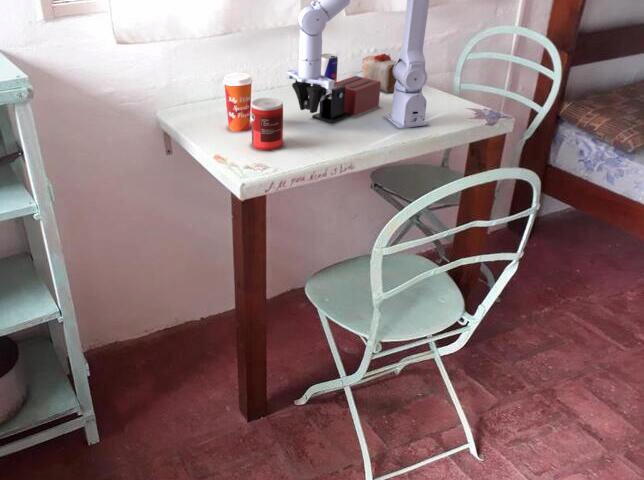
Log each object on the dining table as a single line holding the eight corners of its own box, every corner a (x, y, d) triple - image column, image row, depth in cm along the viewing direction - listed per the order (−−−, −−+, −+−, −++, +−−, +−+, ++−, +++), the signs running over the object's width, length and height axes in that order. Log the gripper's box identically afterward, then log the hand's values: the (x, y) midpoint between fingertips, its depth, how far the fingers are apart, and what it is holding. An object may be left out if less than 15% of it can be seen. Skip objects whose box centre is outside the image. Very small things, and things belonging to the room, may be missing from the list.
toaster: (354, 118, 182) (355, 90, 178) (328, 110, 188) (329, 83, 184) (379, 108, 188) (381, 81, 184) (353, 101, 194) (355, 74, 190)
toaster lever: (309, 112, 173) (309, 101, 172) (300, 109, 175) (300, 98, 173) (340, 97, 180) (340, 87, 178) (331, 95, 182) (331, 84, 180)
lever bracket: (331, 124, 178) (333, 92, 174) (312, 118, 183) (313, 87, 178) (350, 117, 183) (352, 85, 178) (331, 111, 187) (332, 80, 182)
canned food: (264, 137, 172) (263, 95, 166) (289, 143, 168) (289, 101, 162) (245, 146, 167) (244, 103, 161) (271, 153, 163) (270, 109, 157)
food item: (356, 83, 208) (358, 51, 203) (376, 79, 211) (379, 47, 206) (385, 94, 198) (388, 61, 193) (405, 89, 201) (409, 56, 196)
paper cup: (229, 135, 175) (227, 81, 167) (221, 125, 181) (219, 73, 173) (257, 131, 176) (256, 78, 169) (249, 121, 182) (248, 70, 175)
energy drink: (336, 99, 196) (338, 58, 190) (318, 99, 196) (320, 58, 190) (334, 93, 201) (336, 53, 194) (317, 94, 201) (318, 53, 194)
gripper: (278, 56, 170) (278, 108, 177) (321, 66, 161) (319, 120, 168) (297, 51, 174) (296, 101, 181) (340, 60, 165) (337, 113, 172)
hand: (308, 110), depth 175 cm, fingers closed on toaster lever, 3 cm apart
